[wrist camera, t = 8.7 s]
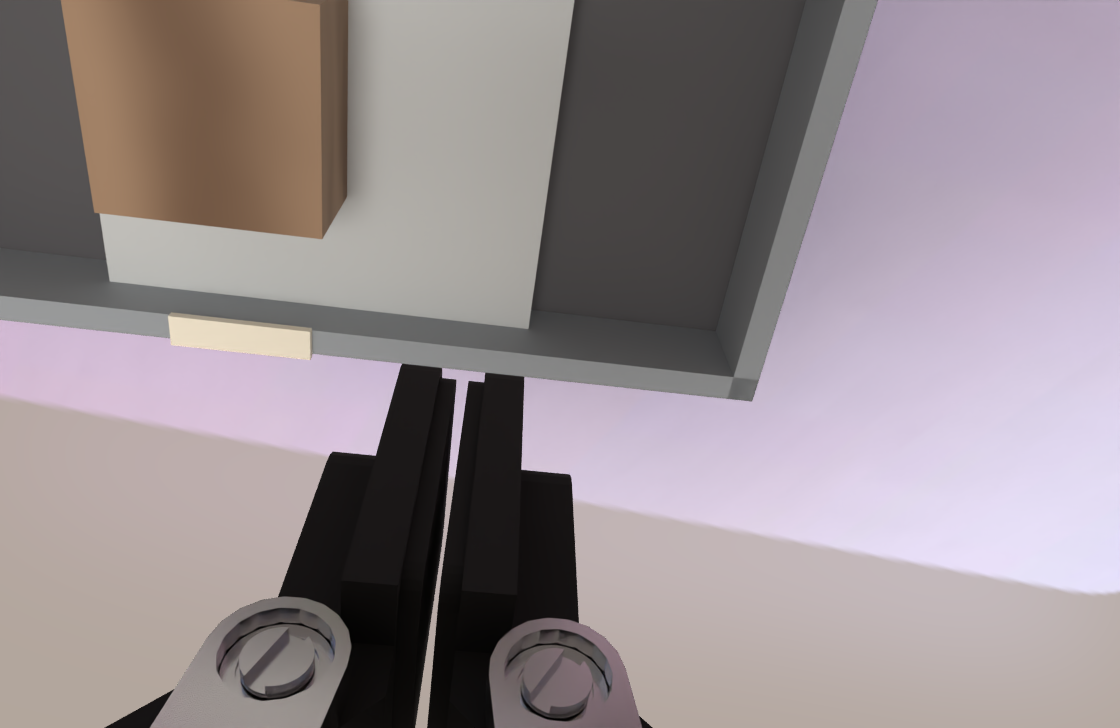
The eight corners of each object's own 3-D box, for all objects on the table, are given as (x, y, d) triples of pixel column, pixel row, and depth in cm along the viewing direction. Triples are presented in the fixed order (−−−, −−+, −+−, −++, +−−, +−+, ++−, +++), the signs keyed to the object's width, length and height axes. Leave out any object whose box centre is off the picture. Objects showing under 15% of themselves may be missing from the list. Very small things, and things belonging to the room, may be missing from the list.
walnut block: (348, -13, 26) (320, 4, 23) (347, 197, 30) (322, 239, 26) (119, -46, 26) (55, -33, 22) (146, 172, 29) (94, 212, 26)
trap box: (864, -130, 27) (923, -130, 23) (728, 346, 36) (753, 407, 32) (-255, -324, 24) (-419, -364, 20) (-92, 252, 33) (-182, 307, 29)
